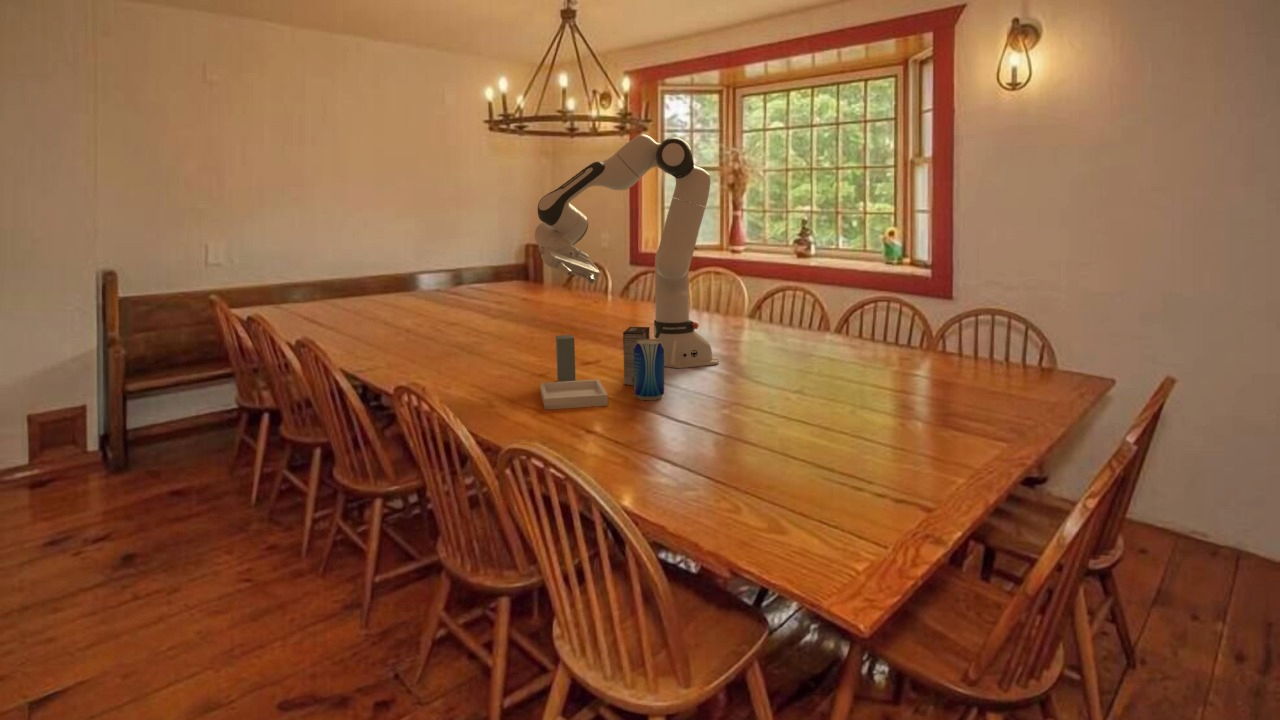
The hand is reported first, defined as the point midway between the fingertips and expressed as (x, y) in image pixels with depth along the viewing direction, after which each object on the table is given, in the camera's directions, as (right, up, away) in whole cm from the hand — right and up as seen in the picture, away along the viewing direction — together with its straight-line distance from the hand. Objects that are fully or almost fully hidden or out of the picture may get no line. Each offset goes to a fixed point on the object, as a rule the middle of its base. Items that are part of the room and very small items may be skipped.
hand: (580, 277), depth 241 cm
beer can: (+21, -36, -21) cm, 46 cm away
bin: (-1, -36, -22) cm, 42 cm away
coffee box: (+17, -32, -4) cm, 37 cm away
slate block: (-4, -32, -4) cm, 32 cm away
